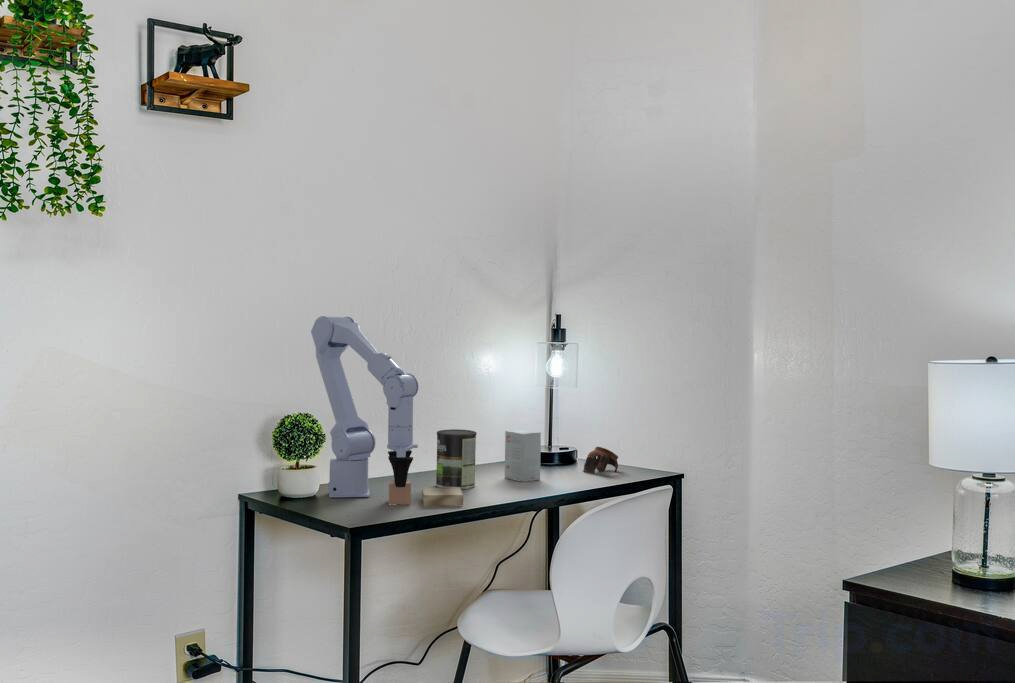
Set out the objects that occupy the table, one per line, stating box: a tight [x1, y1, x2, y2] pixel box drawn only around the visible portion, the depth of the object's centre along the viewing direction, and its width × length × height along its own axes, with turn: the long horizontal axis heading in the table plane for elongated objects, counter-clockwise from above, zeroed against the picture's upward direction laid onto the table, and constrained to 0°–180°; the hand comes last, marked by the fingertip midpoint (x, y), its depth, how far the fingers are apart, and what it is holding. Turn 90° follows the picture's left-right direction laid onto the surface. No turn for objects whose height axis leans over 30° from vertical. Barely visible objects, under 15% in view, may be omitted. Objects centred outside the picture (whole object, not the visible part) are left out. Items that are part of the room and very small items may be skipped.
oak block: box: [421, 487, 464, 507], centre depth 204 cm, size 9×9×3 cm
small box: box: [504, 429, 542, 483], centre depth 236 cm, size 8×6×13 cm
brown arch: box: [582, 446, 619, 474], centre depth 249 cm, size 12×10×8 cm
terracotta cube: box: [388, 479, 412, 506], centre depth 203 cm, size 5×5×5 cm
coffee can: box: [435, 428, 477, 490], centre depth 225 cm, size 10×10×14 cm
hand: (400, 483), depth 203 cm, fingers open, 7 cm apart
